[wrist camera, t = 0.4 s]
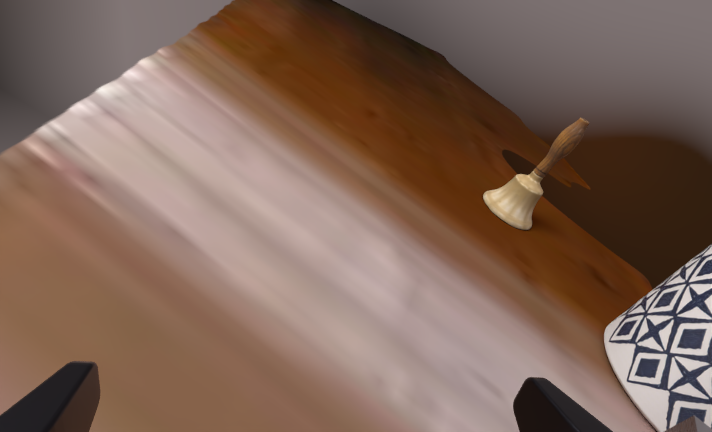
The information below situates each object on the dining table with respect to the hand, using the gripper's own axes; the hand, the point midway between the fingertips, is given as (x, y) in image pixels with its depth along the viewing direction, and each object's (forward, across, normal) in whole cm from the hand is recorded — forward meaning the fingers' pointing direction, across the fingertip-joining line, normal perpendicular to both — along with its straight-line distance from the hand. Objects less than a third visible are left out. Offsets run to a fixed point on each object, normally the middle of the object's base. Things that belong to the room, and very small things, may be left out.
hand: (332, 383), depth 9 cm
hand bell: (+44, -33, +15) cm, 57 cm away
